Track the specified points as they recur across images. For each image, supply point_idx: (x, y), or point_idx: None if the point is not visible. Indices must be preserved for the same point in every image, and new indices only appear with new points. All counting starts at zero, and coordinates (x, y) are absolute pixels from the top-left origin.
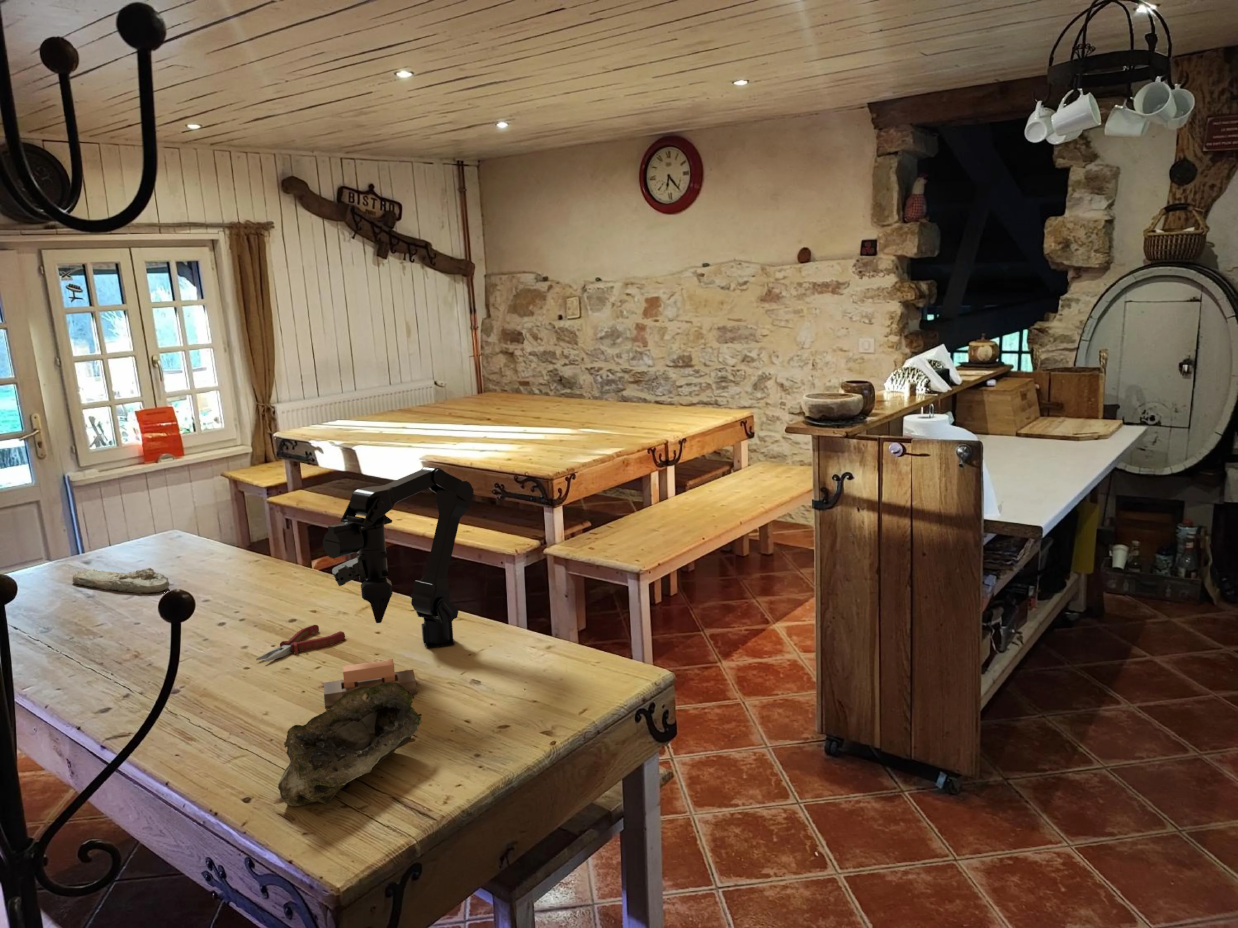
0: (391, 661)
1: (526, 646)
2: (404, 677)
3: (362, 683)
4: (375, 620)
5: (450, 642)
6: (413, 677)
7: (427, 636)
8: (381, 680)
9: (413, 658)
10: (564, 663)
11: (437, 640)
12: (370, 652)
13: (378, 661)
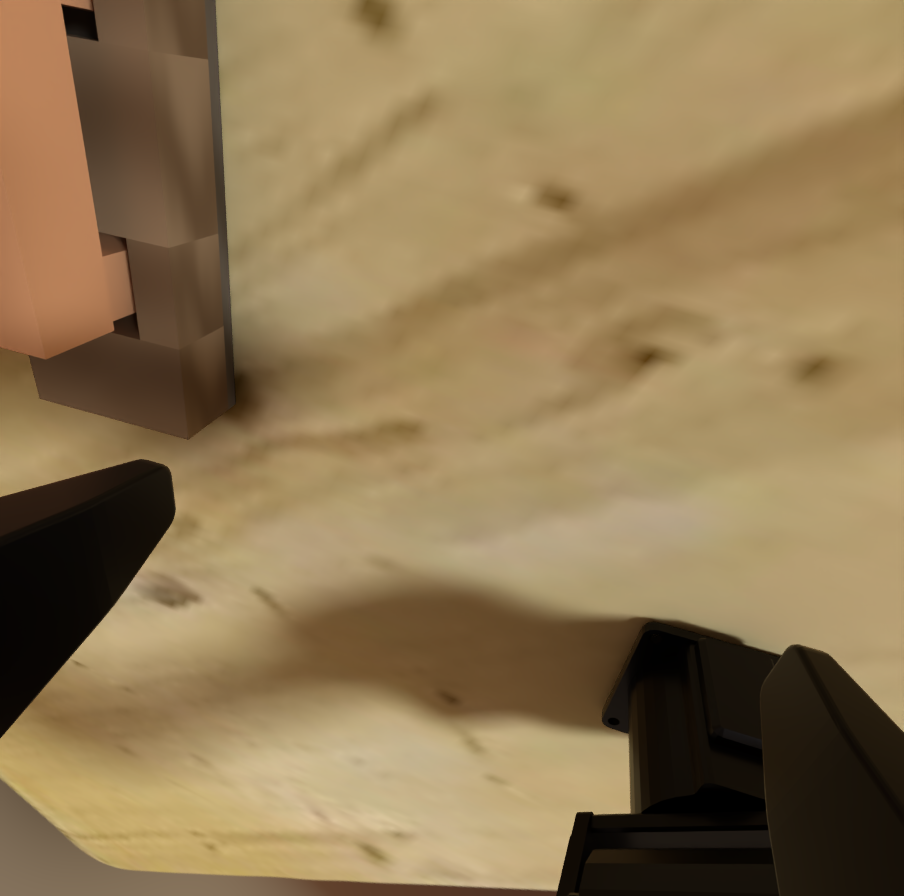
0: (3, 336)
1: (416, 829)
2: (89, 361)
3: None
4: (98, 470)
5: (621, 716)
6: (81, 401)
7: (688, 686)
8: None
9: (562, 518)
10: (231, 808)
11: (639, 692)
12: (898, 338)
13: (14, 247)
